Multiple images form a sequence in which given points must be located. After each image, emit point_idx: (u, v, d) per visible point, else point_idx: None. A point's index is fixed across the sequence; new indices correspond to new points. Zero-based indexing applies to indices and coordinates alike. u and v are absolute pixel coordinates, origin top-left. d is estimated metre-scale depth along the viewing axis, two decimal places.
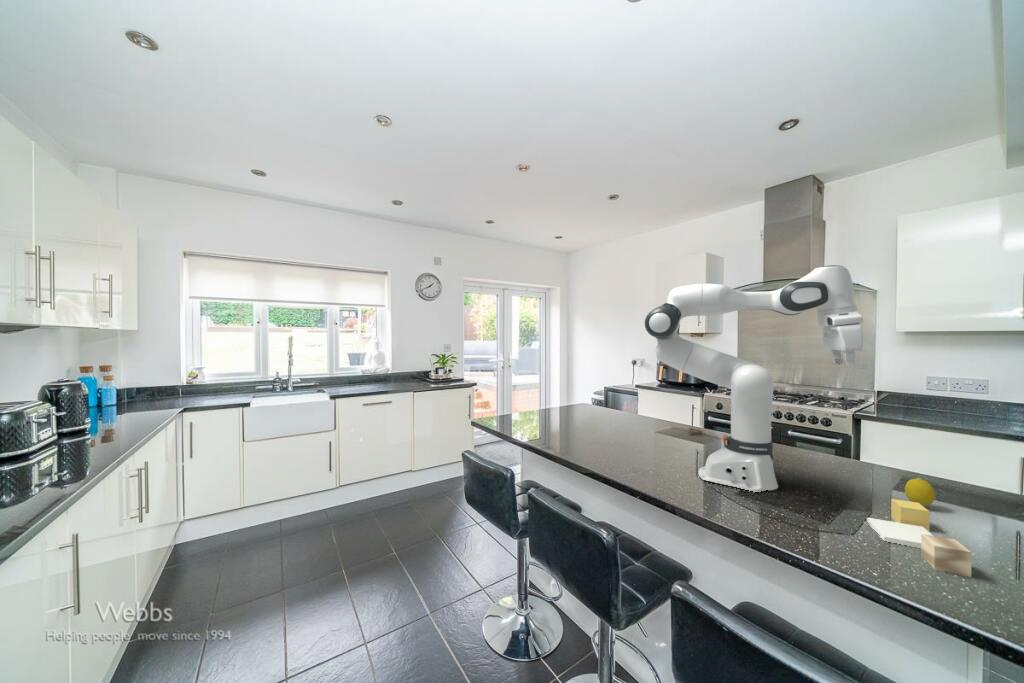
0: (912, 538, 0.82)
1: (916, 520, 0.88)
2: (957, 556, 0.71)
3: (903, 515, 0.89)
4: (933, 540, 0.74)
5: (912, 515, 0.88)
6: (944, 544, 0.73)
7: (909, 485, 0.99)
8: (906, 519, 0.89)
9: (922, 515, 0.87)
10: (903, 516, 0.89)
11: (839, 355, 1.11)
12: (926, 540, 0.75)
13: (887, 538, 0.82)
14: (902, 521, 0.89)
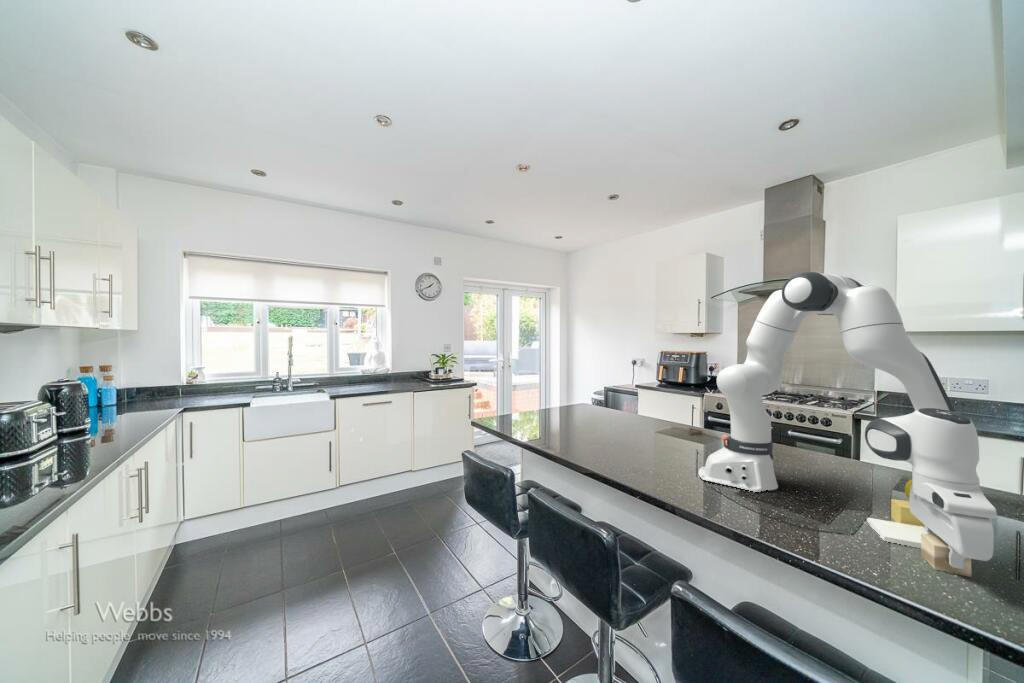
0: (912, 538, 0.82)
1: (916, 520, 0.88)
2: None
3: (903, 515, 0.89)
4: (933, 540, 0.74)
5: (912, 515, 0.88)
6: (944, 544, 0.73)
7: (909, 485, 0.99)
8: (906, 519, 0.89)
9: None
10: (903, 516, 0.89)
11: None
12: (926, 539, 0.75)
13: (887, 538, 0.82)
14: (902, 521, 0.89)
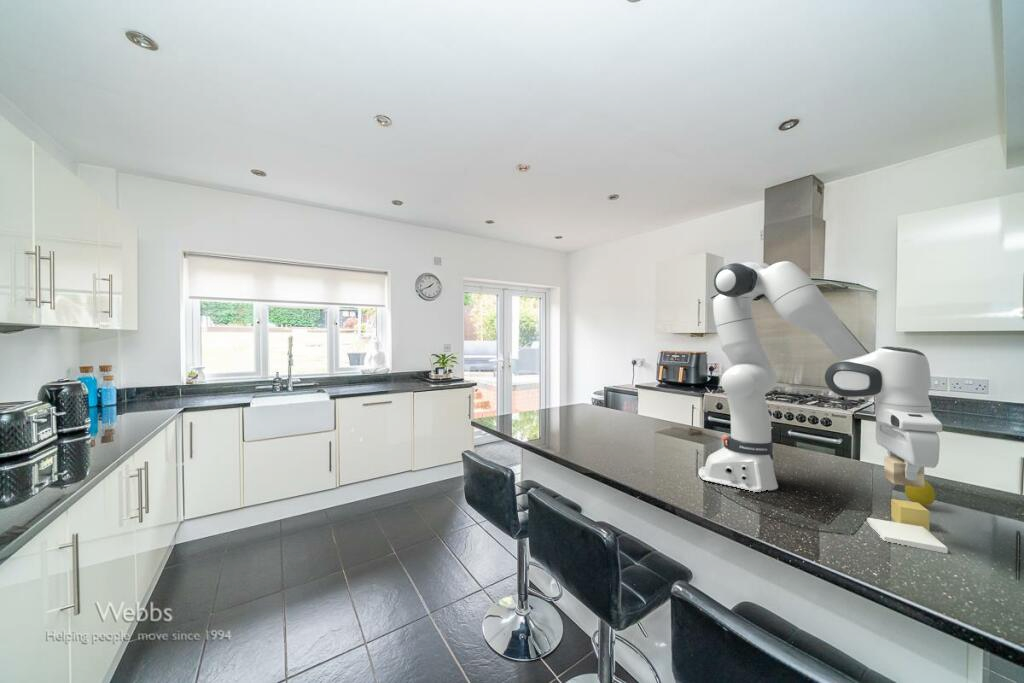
0: (912, 538, 0.82)
1: (916, 520, 0.88)
2: None
3: (903, 515, 0.89)
4: (893, 460, 0.85)
5: (912, 515, 0.88)
6: (902, 462, 0.84)
7: None
8: (906, 519, 0.89)
9: (922, 515, 0.87)
10: (903, 516, 0.89)
11: None
12: (887, 460, 0.86)
13: (887, 538, 0.82)
14: (902, 521, 0.89)
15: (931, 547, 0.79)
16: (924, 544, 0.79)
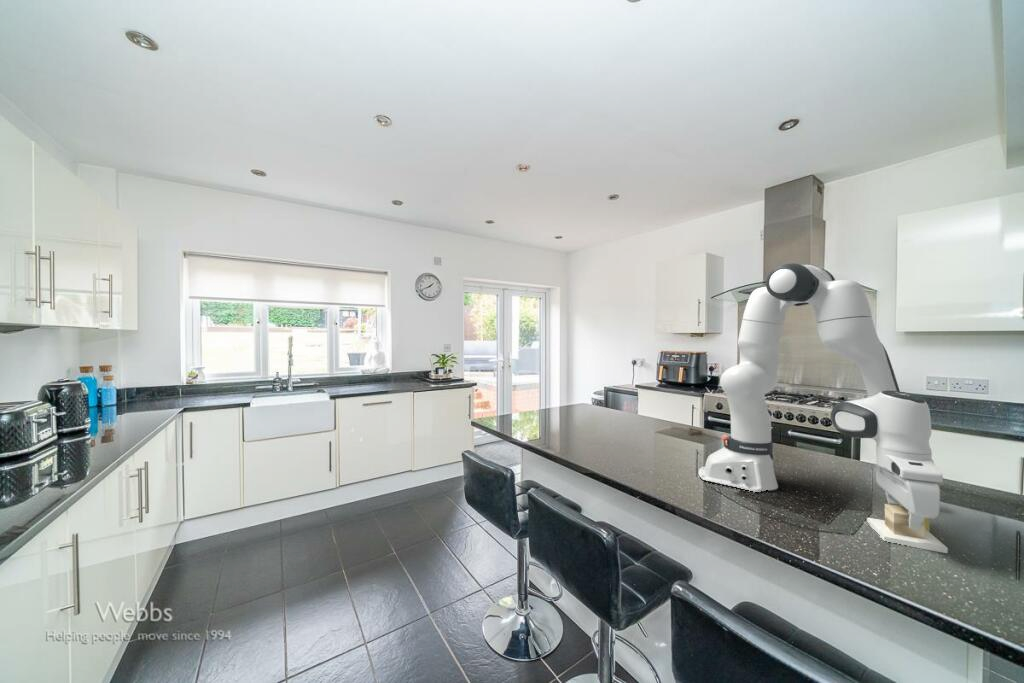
0: (912, 538, 0.82)
1: None
2: None
3: None
4: (894, 509, 0.85)
5: None
6: (902, 511, 0.84)
7: None
8: None
9: None
10: None
11: (896, 499, 0.89)
12: (888, 509, 0.86)
13: (887, 538, 0.82)
14: None
15: (931, 547, 0.79)
16: (924, 544, 0.79)
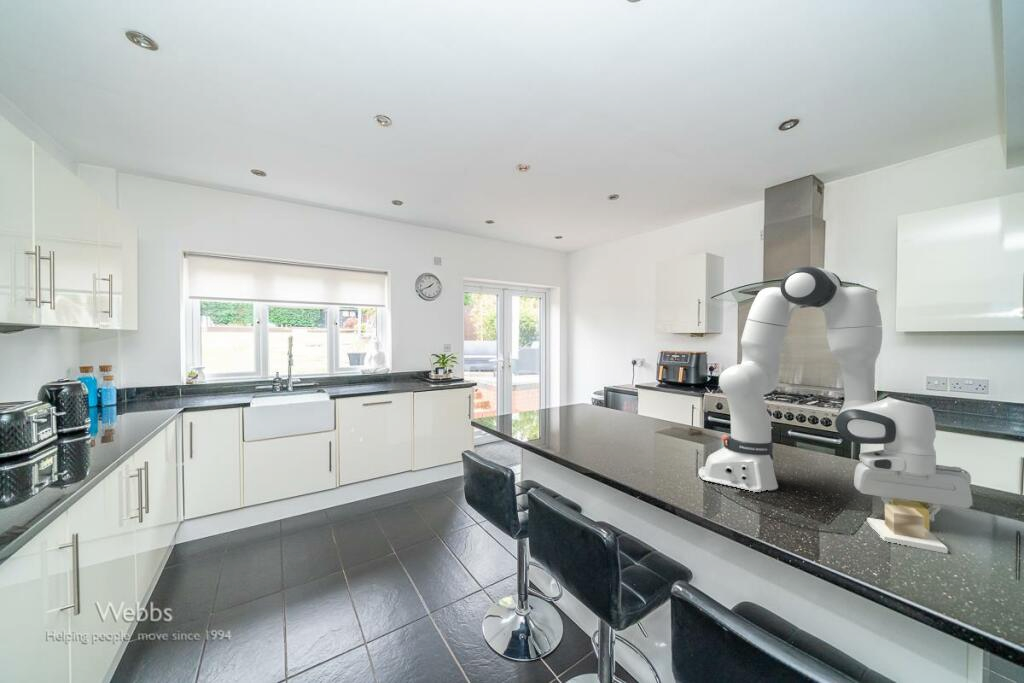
0: (912, 538, 0.82)
1: None
2: (913, 521, 0.82)
3: None
4: (894, 509, 0.85)
5: None
6: (902, 511, 0.84)
7: None
8: None
9: (922, 514, 0.87)
10: None
11: (932, 510, 0.88)
12: (888, 509, 0.86)
13: (887, 538, 0.82)
14: None
15: (931, 547, 0.79)
16: (924, 544, 0.79)
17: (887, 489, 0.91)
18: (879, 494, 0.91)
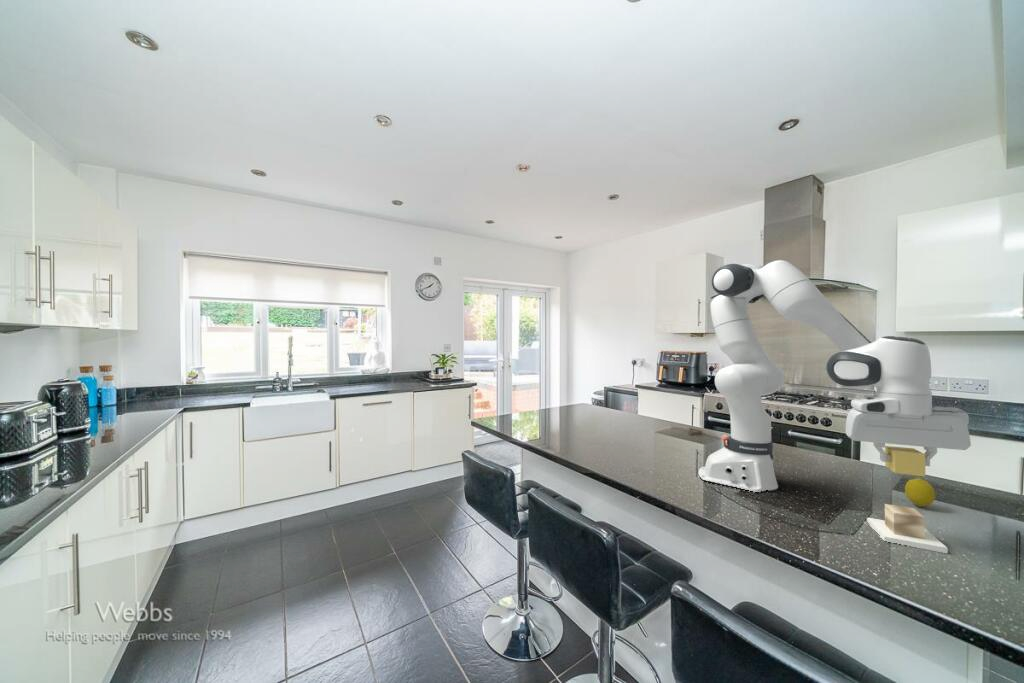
0: (912, 538, 0.82)
1: (912, 465, 0.82)
2: (913, 521, 0.82)
3: (898, 460, 0.83)
4: (894, 509, 0.85)
5: (907, 459, 0.83)
6: (902, 511, 0.84)
7: (909, 485, 0.99)
8: (900, 465, 0.83)
9: (918, 459, 0.82)
10: (897, 462, 0.83)
11: (928, 454, 0.82)
12: (888, 509, 0.86)
13: (887, 538, 0.82)
14: (896, 467, 0.83)
15: (931, 547, 0.79)
16: (924, 544, 0.79)
17: (880, 434, 0.85)
18: (872, 440, 0.86)
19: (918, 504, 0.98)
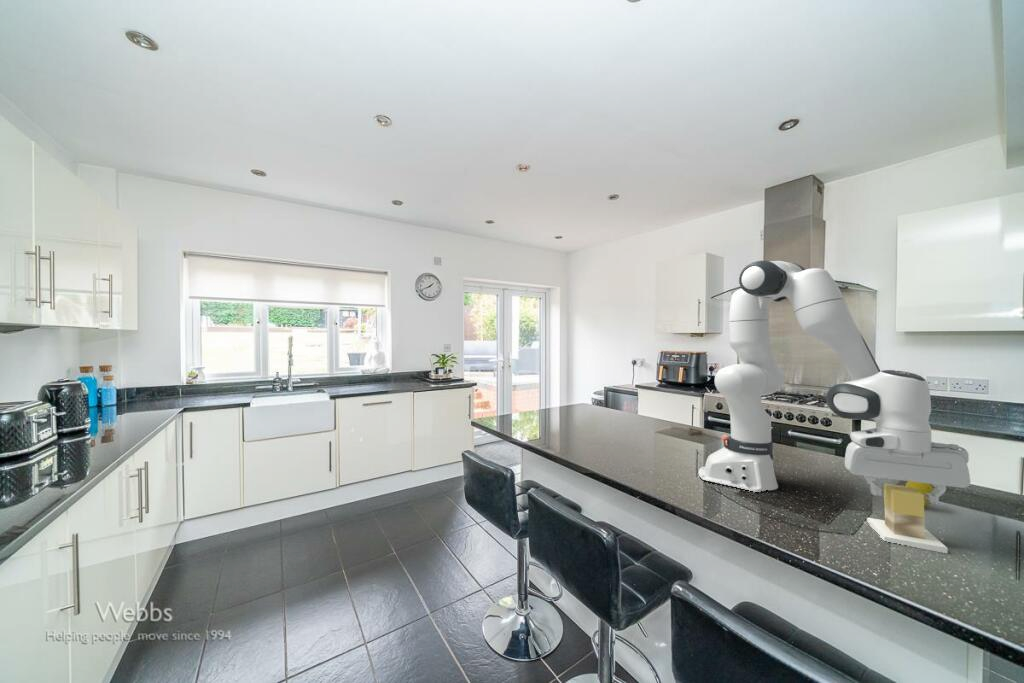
0: (912, 538, 0.82)
1: (910, 505, 0.82)
2: (913, 521, 0.82)
3: (897, 500, 0.83)
4: None
5: (906, 500, 0.83)
6: None
7: (909, 485, 0.99)
8: (899, 504, 0.83)
9: (917, 499, 0.82)
10: (896, 501, 0.83)
11: (937, 492, 0.82)
12: (888, 509, 0.86)
13: (887, 538, 0.82)
14: (895, 506, 0.83)
15: (931, 547, 0.79)
16: (924, 544, 0.79)
17: (879, 468, 0.85)
18: (871, 474, 0.86)
19: None
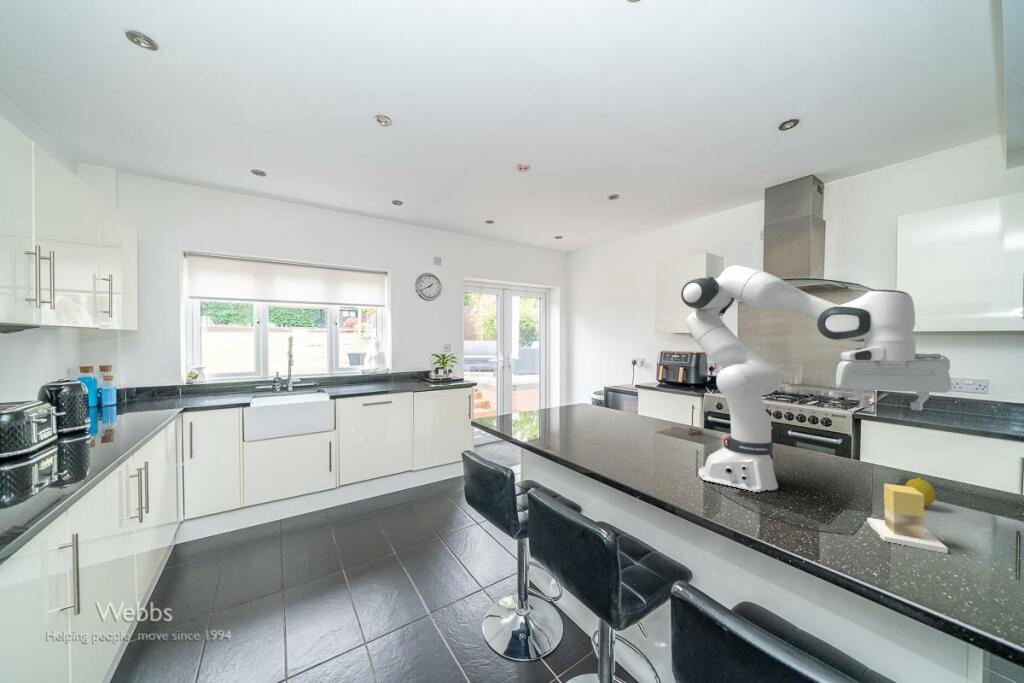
0: (912, 538, 0.82)
1: (910, 505, 0.82)
2: (913, 521, 0.82)
3: (897, 500, 0.83)
4: None
5: (906, 500, 0.83)
6: None
7: (909, 485, 0.99)
8: (899, 504, 0.83)
9: (917, 499, 0.82)
10: (896, 501, 0.83)
11: (921, 399, 0.87)
12: (888, 509, 0.86)
13: (887, 538, 0.82)
14: (895, 506, 0.83)
15: (931, 547, 0.79)
16: (924, 544, 0.79)
17: (867, 381, 0.91)
18: (860, 387, 0.91)
19: None
